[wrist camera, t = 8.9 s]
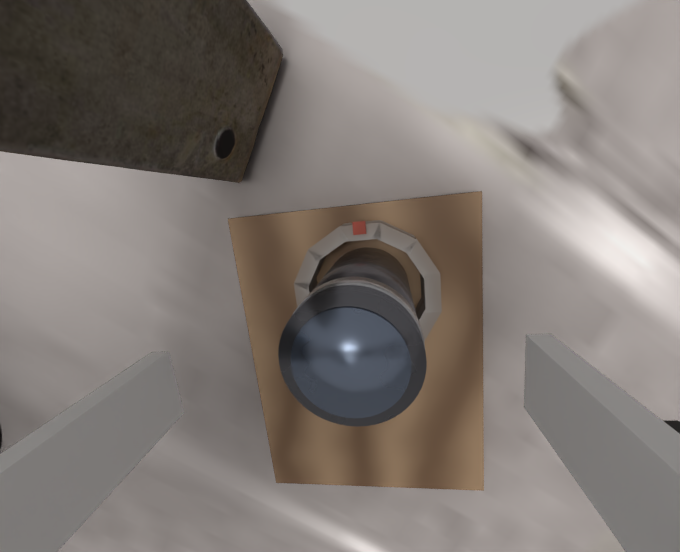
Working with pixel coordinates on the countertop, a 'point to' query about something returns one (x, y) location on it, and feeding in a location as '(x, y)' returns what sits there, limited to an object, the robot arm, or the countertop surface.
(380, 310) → the lens
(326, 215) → the mount board
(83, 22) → the vintage camera
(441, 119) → the countertop surface
